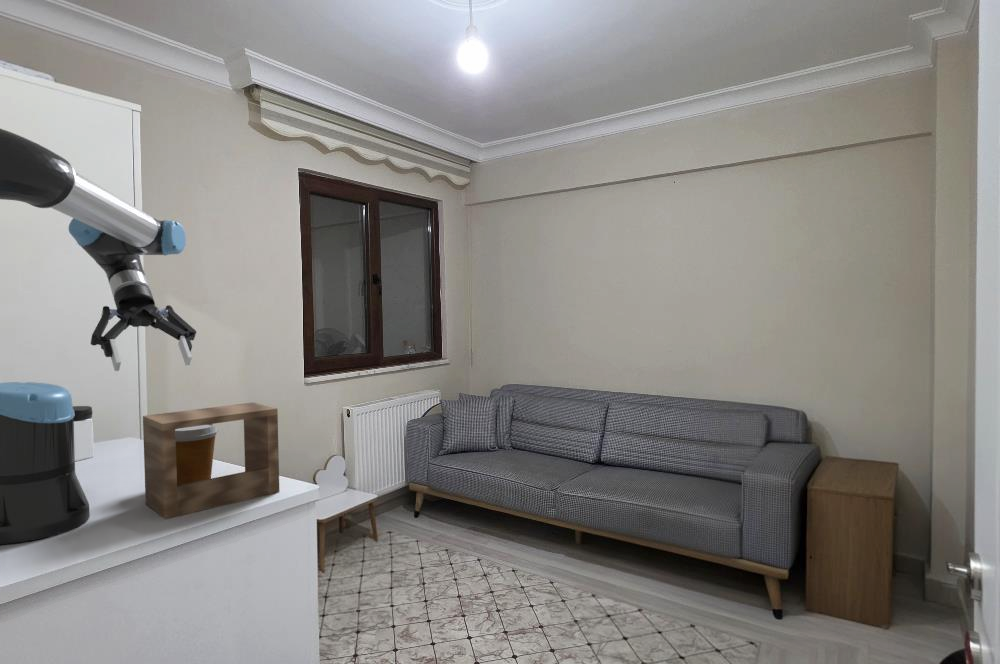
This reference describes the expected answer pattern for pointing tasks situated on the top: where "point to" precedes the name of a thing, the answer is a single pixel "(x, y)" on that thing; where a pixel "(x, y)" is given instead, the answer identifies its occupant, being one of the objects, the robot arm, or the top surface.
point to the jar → (83, 433)
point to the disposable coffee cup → (194, 453)
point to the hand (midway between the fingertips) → (154, 364)
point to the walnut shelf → (215, 491)
